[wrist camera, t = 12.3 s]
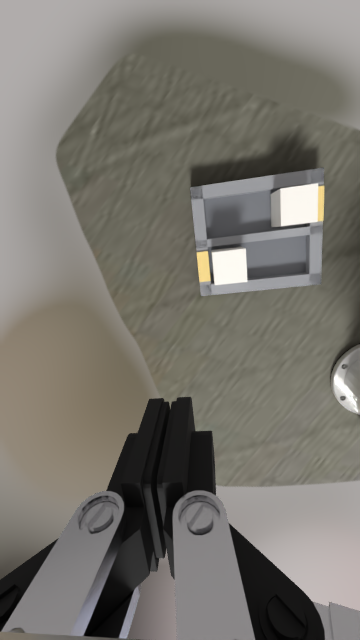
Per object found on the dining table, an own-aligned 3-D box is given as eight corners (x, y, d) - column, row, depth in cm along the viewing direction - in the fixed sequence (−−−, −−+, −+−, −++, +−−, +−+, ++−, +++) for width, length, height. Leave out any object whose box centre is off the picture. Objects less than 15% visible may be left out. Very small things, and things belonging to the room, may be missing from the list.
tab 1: (242, 275, 39) (247, 281, 34) (213, 278, 39) (214, 285, 35) (240, 246, 38) (245, 248, 33) (211, 250, 38) (211, 252, 34)
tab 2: (302, 223, 36) (317, 221, 31) (271, 227, 37) (280, 226, 32) (303, 189, 35) (318, 183, 30) (270, 194, 36) (280, 188, 31)
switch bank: (313, 280, 40) (321, 284, 37) (201, 292, 42) (201, 296, 39) (315, 172, 36) (324, 167, 33) (191, 190, 38) (190, 187, 35)
